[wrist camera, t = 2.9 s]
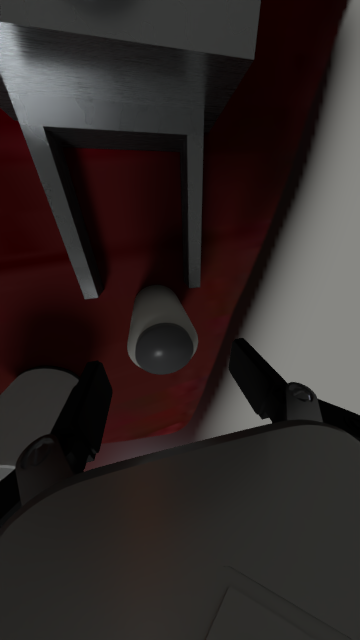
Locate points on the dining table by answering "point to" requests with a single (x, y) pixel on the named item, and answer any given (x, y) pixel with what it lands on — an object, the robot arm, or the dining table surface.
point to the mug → (31, 410)
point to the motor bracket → (121, 93)
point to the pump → (160, 331)
